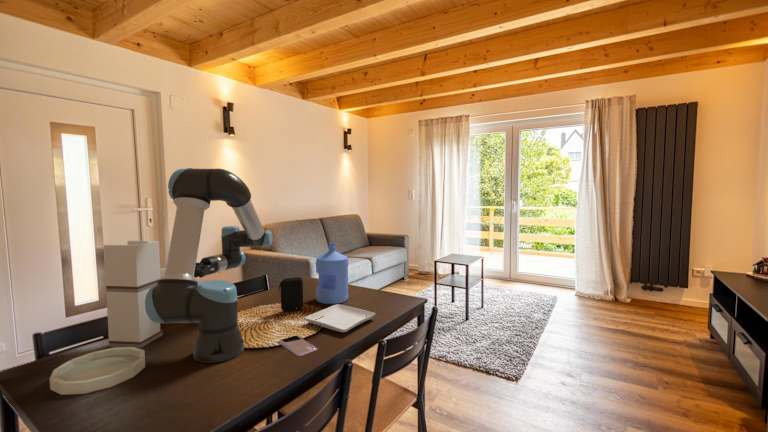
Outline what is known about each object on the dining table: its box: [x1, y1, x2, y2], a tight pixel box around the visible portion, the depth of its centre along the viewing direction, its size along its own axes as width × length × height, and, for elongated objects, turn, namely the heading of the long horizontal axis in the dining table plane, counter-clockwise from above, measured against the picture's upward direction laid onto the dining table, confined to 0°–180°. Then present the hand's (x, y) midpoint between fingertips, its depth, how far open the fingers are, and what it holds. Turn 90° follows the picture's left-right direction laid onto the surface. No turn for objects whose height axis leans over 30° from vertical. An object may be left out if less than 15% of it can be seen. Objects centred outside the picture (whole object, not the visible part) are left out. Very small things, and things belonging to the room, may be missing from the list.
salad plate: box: [304, 303, 376, 333], centre depth 143 cm, size 21×21×3 cm
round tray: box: [49, 347, 146, 396], centre depth 102 cm, size 21×21×3 cm
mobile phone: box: [277, 335, 318, 357], centre depth 121 cm, size 8×1×15 cm
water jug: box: [315, 242, 349, 305], centre depth 170 cm, size 16×16×28 cm
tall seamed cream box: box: [103, 240, 164, 349], centre depth 123 cm, size 11×11×35 cm
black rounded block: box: [278, 276, 304, 312], centre depth 155 cm, size 11×3×15 cm, turn 117°
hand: (164, 276), depth 133 cm, fingers open, 13 cm apart
